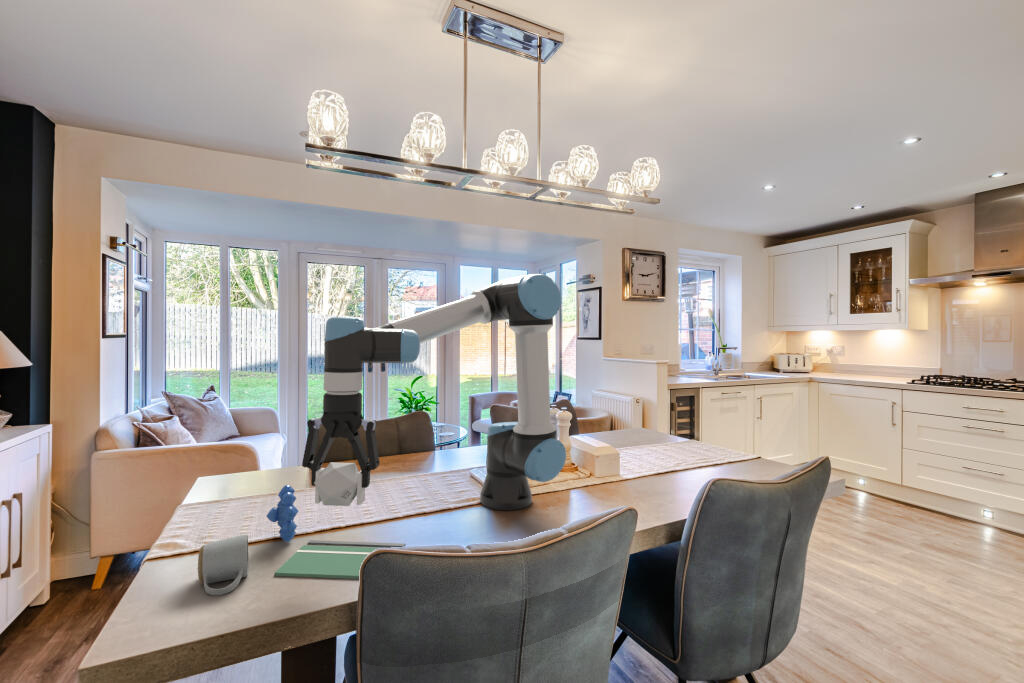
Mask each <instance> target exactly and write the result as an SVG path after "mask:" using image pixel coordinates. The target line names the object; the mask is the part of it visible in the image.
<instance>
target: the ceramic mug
mask: <svg viewBox="0 0 1024 683" xmlns="http://www.w3.org/2000/svg"><path fill="white" fill-rule="evenodd" d="M248 538H249V537H248V534H247V533H244V534H240V535H237V536H232V537H229V538H225V539H219V540H215V541H212V542H211V541H210V542H208V543H205V544H204V545H201V547H200V548H199V550H198V557H197V578H198V581H199V582H200V583H201V584H202V585H203V587H204V591H205V592H206V593H207V594H208V595H211V596H221V595H222V594H223V595H226V594H228V593H230V592H232V591H233V590H234V589H235V588H237V587H238V585H239V583H240V581H241V580H242V578H245V577H248V575H249V539H248ZM229 580H233V582H231V583H230V584H228V585H226V586H225V587H222V588H213V587H210V586H209V585H208V584H214V583H218V582H222V581H229Z"/></svg>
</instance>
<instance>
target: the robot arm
mask: <svg viewBox="0 0 1024 683" xmlns="http://www.w3.org/2000/svg"><path fill="white" fill-rule="evenodd" d="M470 294H471V295H469V296H467V297H463V298H462V299H458V300H455V301H452V302H449V303H446V304H443V305H440V306H436V307H434V308H430V309H428V310H424V311H421V312H419V313H415V314H411V315H409V316H406V317H402V318H401V319H397V320H394V321H390V322H388V323H385V324H382V325H379V326H376V327H375V326H374V327H372V328H371V327H365V326H366V325H365V321H364V319H363V318H359V317H357V318H356V317H339V316H337V317H335V316H334V317H330V318H328V319H327V320H326V322H325V323H326V324H325V331H324V333H325V334H324V338H323V341H324V372H323V388H322V390H323V391H325V393H324V394H323V399H322V401H323V404H322V405H323V406H322V411H323V413H322V416H321V418H320V417H319V418H317V417H313V418H311V419H308V420H307V423H306V424H307V429H308V432H307V437H306V442H305V447H304V453H303V458H302V463H301V466H302V467H303V468H307V469H310V471H311V479H310V480H311V481H310V482H311V486H312V487H315V489H314V490H315V492H314V503H315V504H321V503H322V500H321V498H320V496H319V493H318V491H317V488H316V486H315V484H314V482H315V481H316V479H317V478H318V477H319V476H320V474H321V473H322V472H323V471H324V470H325V468H326V467H323V466H324V465H323V464H324V461H325V459H326V457H327V456H328V455H327V454H328V453H329V450H330V449H331V446H332V444H333V442H334V440H335V439H336V438H337V439H338V438H343V439H347V441H348V443H350V445H351V448H352V451H353V453H354V456H355V458H356V461H357V463H358V466H359V468H360V471H359V472H358V473H357V496H356V506H361V505H362V504H363V503H364V502H365V500H366V489H367V488H368V487H369V485H370V484H371V471H374V470H376V469H377V468H378V467H379V466H380V458H379V451H378V450H379V449H378V443H377V442H378V441H377V436H376V430H377V423H378V422H377V420H375V419H372V420H369V419H364V416H363V413H362V410H363V408H362V407H363V406H362V405H363V394H362V393H361V391H362V390H363V373H364V372H363V371H364V364H405V363H406V364H410V363H414V362H416V361H417V359H418V357H419V355H420V350H421V344H423V343H425V342H429V341H431V340H434V339H436V338H441V337H442V336H446V335H448V334H450V333H454V332H457V331H459V330H462V329H464V328H467V327H470V326H472V325H475V324H479V323H481V324H483V325H486V324H490V323H492V322H495V321H506V320H508V327H509V329H511V331H512V332H513V333H514V337H515V339H514V341H515V367H516V368H515V370H516V390H517V392H516V394H517V418H518V419H517V421H503V422H495V423H491V424H489V426H488V428H487V435H486V438H487V442H486V444H487V445H486V446H487V448H486V449H487V450H486V475H485V479H484V481H483V485H482V488H481V490H480V493H479V494H480V495H479V501H480V503H481V505H483V506H484V507H486V508H487V509H488V508H489V509H493V510H498V511H516V510H518V511H519V510H522V509H526V508H528V507H529V506H531V505H532V502H533V494H532V490H531V487H530V484H529V479H530V480H532V481H536V482H539V483H547V482H549V481H552V480H553V479H555V478H556V477H558V476H559V474H560V472H561V471H562V470H563V468H564V467H565V463H566V461H567V449H566V447H565V445H564V444H563V443H562V441H560V440H559V439H558V438H557V436H558V435H557V431H558V430H557V426H556V425H555V424H554V423H553V422H552V421H551V401H550V400H551V399H550V397H551V396H550V393H551V392H550V370H549V366H550V364H549V341H548V340H549V337H548V336H549V335H548V332H549V331H550V329H552V327H553V326H554V317H555V316H556V315H557V314H558V312H559V311H560V308H561V305H562V295H561V291H560V288H559V287H558V284H557V283H556V282H555V281H554V280H553V279H552V278H551V277H549V276H548V275H546V274H544V273H542V274H541V273H530V274H529V273H528V274H525V275H520V276H518V275H517V276H515V277H507V278H504V279H501V280H499V281H496V282H494V283H492V284H489V285H487V286H485V287H482V288H479V289H477V290H473V291H472V293H470ZM322 426H323V427H324V428H325V430H326V431H325V434H324V436H323V437H322V442H321V444H320V445H319V448H318V451H317V450H316V449H317V445H318V439H319V433H320V428H321V427H322ZM361 426H363V430H364V431H365V440H366V441H365V442H366V447H367V448H366V449H367V453H366V450H365V447H364V444H363V443H362V440H361V434H360V432H359V429H360V427H361ZM316 451H317V453H316Z"/></svg>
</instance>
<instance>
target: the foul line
mask: <svg viewBox="0 0 1024 683" xmlns="http://www.w3.org/2000/svg"><path fill="white" fill-rule="evenodd" d="M307 545H325V546H353V547H381V548H403V547H402V546H404V547H405V546H406V543H403V542H402V543H400V542H399V543H398V542H396V543H395V542H394V543H393V542H376V541H375V542H372V541H371V542H369V541H367V542H366V541H342V540H319V539H317V540H316V539H315V540H314V539H311V540H308V541H307Z"/></svg>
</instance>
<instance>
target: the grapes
mask: <svg viewBox="0 0 1024 683" xmlns="http://www.w3.org/2000/svg"><path fill="white" fill-rule="evenodd" d="M294 493H295V489H294V488H293V487H292V486H291V485H289V484H286V485H284V486H283V487H282V488H281V490H280V491H279V492H278V495H277V496H278V498H279V499H280V500H279V501H278V503H277V504H276V507H275V506H274V507H272V508H270V510H269V511H268V512H267V514H266V518H267V519H268V520H269V521H271V523H272V522H273V523H277V526H279V528H280V529H279V531H278V534H279V537H280V538H281V539H282V540H283V541H284V542H286V543H289V542H291V540H293V539H294V537H295V535H296V534H297V532H296V531H295V530H296V529H297V527H298V525H297V524H296V523H295V522H294V520H295V518H296V516H297V514H298V512H299V509H298V508H297V507H296V506H295V505H294V503H295V501H296V500H297V497H296V496H295V495H294Z"/></svg>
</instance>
